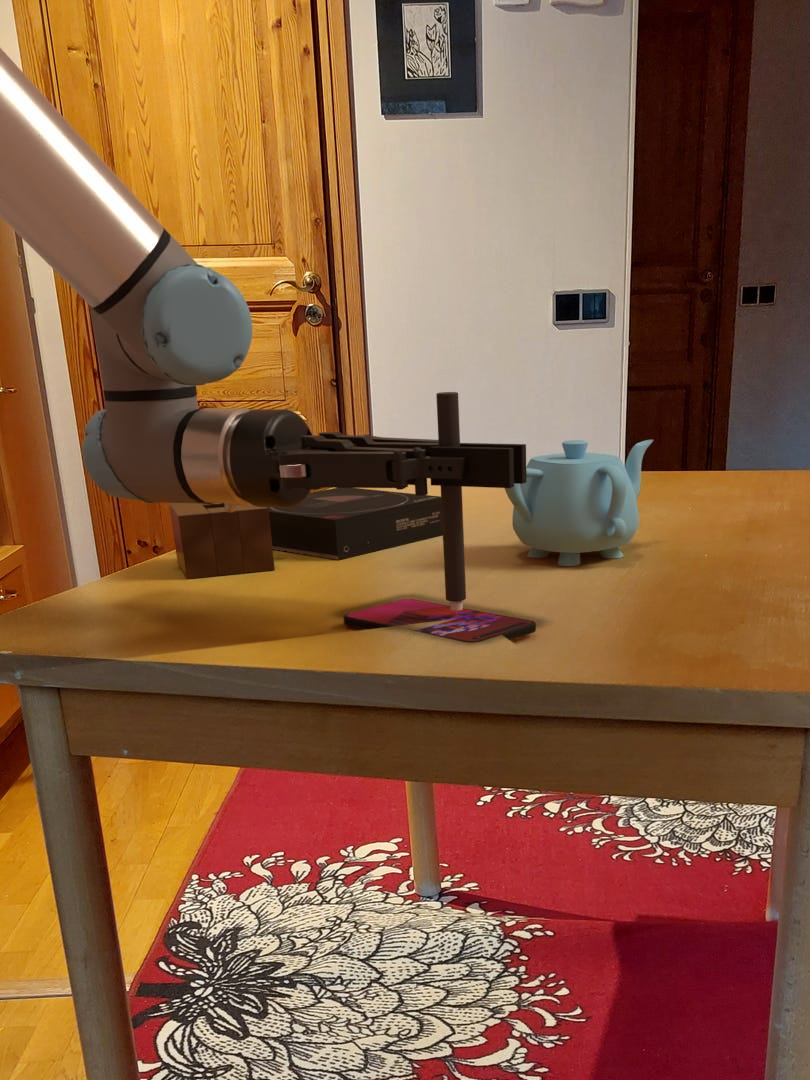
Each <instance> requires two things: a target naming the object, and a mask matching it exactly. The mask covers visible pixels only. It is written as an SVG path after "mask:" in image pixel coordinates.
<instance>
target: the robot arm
mask: <svg viewBox="0 0 810 1080" xmlns="http://www.w3.org/2000/svg"><path fill="white" fill-rule="evenodd" d="M0 218H1V219H2V220H3V221H4V222H5V223H6V224H7V225H8V226H9V227H10V228H11V229H12V230H13V231H14V232H15V233H16V234H17V235H18V236H19V237H20V238H21V239H22V240H23V241H24V242H25V243H26V244H27V245H28V246H29V247H30V248H31V249H33V250H34V252H36V254H38V255H39V256H40V258H41V259H42V260H44V261H45V263H46V264H48V265H49V266H50V267H51V269H53V270H54V271H55V273H57V274H58V275H59V276H60V278H62V279H63V281H65V282H66V284H67V285H69V286H70V287H71V288H72V289H73V290H74V291H75V292H76V293H77V294H78V295H79V297H81V299H83V300H84V301H85V302H86V304H87V305H88V308H89V313H90V319H91V325H92V332H93V336H94V342H95V349H96V354H97V359H98V365H99V372H100V378H101V383H102V388H103V389H102V390H103V392H102V393H103V398H104V399H103V404H104V408H103V409H100V410H99V411H97V412H95V413H94V414H93V415H92V416H91V417H90V418H89V419H88V421H87V423H86V425H85V427H84V434H85V436H84V441H83V443H82V444H81V453H82V458H83V463H84V466H85V469H86V471H87V473H88V475H89V476H90V479H91V480H92V482H93V483H94V484H95V485H96V486H97V488H99V489H100V490H101V491H102V492H103V493H105V494H107V495H109V496H111V497H114V498H118V499H125V500H134V501H138V502H144V503H146V504H154V503H169V504H170V503H200V504H221V503H224V505H225V510H226V511H227V512H234V511H236V505H254V506H257V507H273V508H293V507H296V506H298V505H300V504H301V503H302V502H303V501H304V500H305V499H306V498H307V496H308V495H309V493H311V492H312V491H319V490H321V489H325V488H330V489H333V488H360V489H396V490H399V491H400V490H404V489H406V488H409V486H414V490H415V491H414V494H415V496H420V495H429V492H428V479H430V486H440V487H441V486H462V488H463V487H465V488H495V489H505V488H512V487H514V484H523V483H526V482H527V481H526V467H527V443H482V442H481V443H480V442H460V447H449V446H448V447H444V446H439V441H438V439H429V438H428V439H426V438H406V437H387V436H386V437H384V436H375V435H370V434H366V433H365V434H363V435H361V434H359V435H357V434H356V435H355V434H353V435H350V434H343V433H342V432H340V431H321V432H319V433H318V434H317V435H315V434H314V435H313V433H312V431H311V429H310V427H309V426H308V424H307V422H306V420H305V419H304V418H303V417H302V416H301V415H300V414H298V413H297V412H295V411H294V410H290V409H285V408H284V409H282V408H281V409H280V408H279V409H278V408H277V409H273V408H271V409H269V408H267V409H266V408H265V409H263V408H259V409H258V408H257V409H249V408H239V407H238V408H237V407H230V408H229V407H225V408H224V407H205V408H199V404H198V397H197V396H198V391H197V390H198V389H197V387H198V386H205V385H207V384H212V383H216V382H220V381H222V380H225V379H227V378H228V377H230V376H231V375H233V374H234V373H235V372H236V371H237V370H238V369H240V368H241V366H242V364H243V363H244V362H245V360H246V357H247V356H248V353H249V351H250V348H251V344H252V341H253V340H252V338H253V321H252V316H251V315H252V314H251V311H250V308H249V305H248V303H247V301H246V298H245V297H244V295H243V294H242V292H241V291H240V289H239V287H237V286H236V285H235V283H234V282H232V281H231V279H229V278H227V276H225V275H224V274H222V273H219V272H218V271H216V270H214V269H212V268H210V267H206V266H204V265H202V264H199V263H197V261H196V260H195V259H194V258H193V257H192V256H191V255H190V254H189V252H188V251H187V250H185V248H184V247H183V246H182V245H181V243H180V242H178V241H177V240H176V239H175V238H174V236H173V235H171V234H170V233H169V232H168V230H167V229H166V228H165V227H164V226H163V224H161V223H160V221H159V220H158V219H157V217H155V216H154V214H152V212H150V210H149V209H148V208H147V207H146V206H145V205H144V204H143V203H142V201H141V200H140V199H139V198H138V197H137V196H136V195H135V194H134V193H133V192H132V191H131V189H130V188H128V186H127V185H126V184H125V183H124V182H123V181H122V180H121V179H120V177H119V176H118V175H117V174H116V173H115V172H114V171H113V170H112V168H110V166H108V165H107V163H106V162H105V161H104V160H103V159H102V157H100V156H99V154H98V153H97V152H96V151H95V150H94V148H92V147H91V145H89V144H88V142H87V141H86V140H85V139H84V138H83V137H82V136H81V134H79V132H78V131H77V130H76V129H75V128H74V127H73V126H72V124H70V122H69V121H68V120H67V119H66V118H65V117H64V116H63V115H62V114H61V113H60V111H58V109H57V108H56V107H55V106H54V105H53V104H52V103H51V102H50V101H49V99H47V97H46V96H45V95H44V94H43V93H42V92H41V90H40V89H39V88H38V87H37V86H36V85H35V84H34V83H33V82H32V81H31V79H30V78H29V77H28V76H27V75H26V74H25V73H24V72H23V70H21V68H20V67H18V65H17V64H16V63H15V62H14V61H13V60H12V59H11V58H10V56H9V55H7V53H6V52H5V51H4V50H3V48H1V47H0Z"/></svg>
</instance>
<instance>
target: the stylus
mask: <svg viewBox="0 0 810 1080" xmlns="http://www.w3.org/2000/svg"><path fill="white" fill-rule="evenodd" d="M459 403H460V402H459V392H457V391H443V392H441V391H440V392H437V393H436V417H437V419H436V420H437V437H438V438H437V440H438V441H439V446H444V447H448V446H449V447H460V443H461V431H460V430H461V429H460V428H461V427H460V406H459V405H460V404H459ZM440 497H441V506H442V528H443V535H442V545H443V546H442V547H443V548H442V549H443V565H444V566H443V568H444V571H443V572H444V589H445V592H444V593H445V600H446V601H447V602H449V606H450V610H452V611H460V610H462V609H463V608H464V607H463V605H464V604H463V601H465V600H466V599H467V590H466V589H467V586H466V585H467V584H466V563H465V561H466V560H465V559H466V558H465V535H464V533H465V532H464V510H463V486H440Z"/></svg>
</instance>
